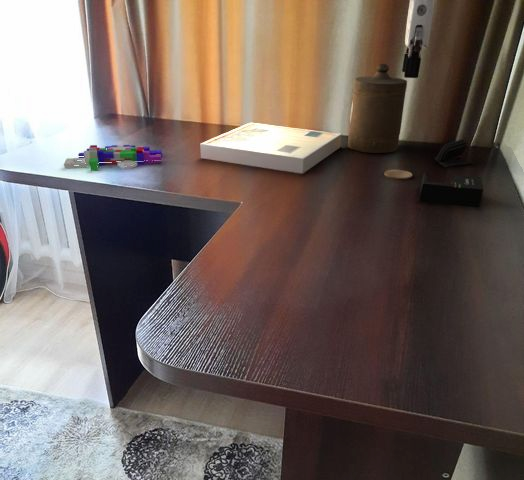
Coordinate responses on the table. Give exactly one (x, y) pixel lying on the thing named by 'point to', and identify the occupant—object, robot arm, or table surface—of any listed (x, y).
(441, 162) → the webcam
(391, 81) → the wooden container
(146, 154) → the building block set
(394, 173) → the coaster
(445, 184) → the battery charger
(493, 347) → the table surface
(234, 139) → the flat white box
